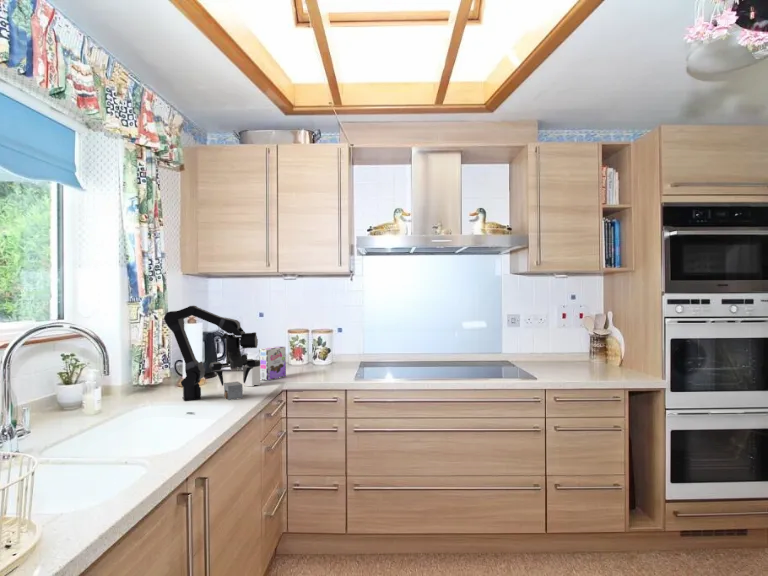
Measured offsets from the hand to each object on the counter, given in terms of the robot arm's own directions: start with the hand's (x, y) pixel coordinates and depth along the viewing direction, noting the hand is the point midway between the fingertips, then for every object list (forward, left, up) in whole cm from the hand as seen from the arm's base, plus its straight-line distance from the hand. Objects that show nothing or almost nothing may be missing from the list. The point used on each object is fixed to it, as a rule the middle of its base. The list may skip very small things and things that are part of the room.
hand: (233, 384), depth 199 cm
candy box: (+28, +33, -6) cm, 44 cm away
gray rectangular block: (0, 0, -6) cm, 6 cm away
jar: (+14, +22, -6) cm, 27 cm away
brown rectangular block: (0, 0, -6) cm, 6 cm away
